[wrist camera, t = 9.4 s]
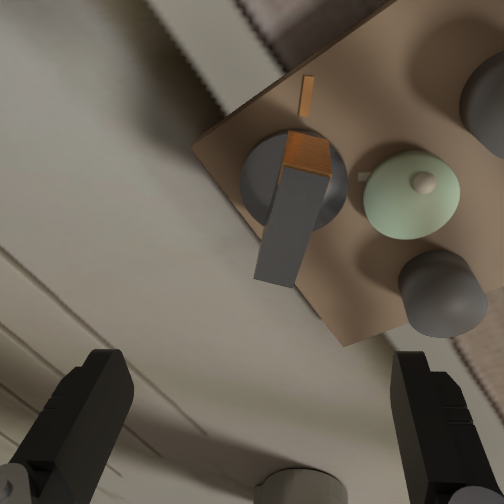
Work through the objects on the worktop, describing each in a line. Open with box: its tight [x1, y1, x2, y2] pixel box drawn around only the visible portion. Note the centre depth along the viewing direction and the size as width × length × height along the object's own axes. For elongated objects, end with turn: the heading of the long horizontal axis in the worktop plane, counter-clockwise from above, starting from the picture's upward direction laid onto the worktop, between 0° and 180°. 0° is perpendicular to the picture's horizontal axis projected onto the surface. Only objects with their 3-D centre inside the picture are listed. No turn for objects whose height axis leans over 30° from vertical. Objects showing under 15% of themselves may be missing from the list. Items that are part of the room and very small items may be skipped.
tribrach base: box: [190, 0, 504, 347], centre depth 23 cm, size 18×18×5 cm
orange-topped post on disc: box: [239, 128, 348, 288], centre depth 21 cm, size 6×6×6 cm
